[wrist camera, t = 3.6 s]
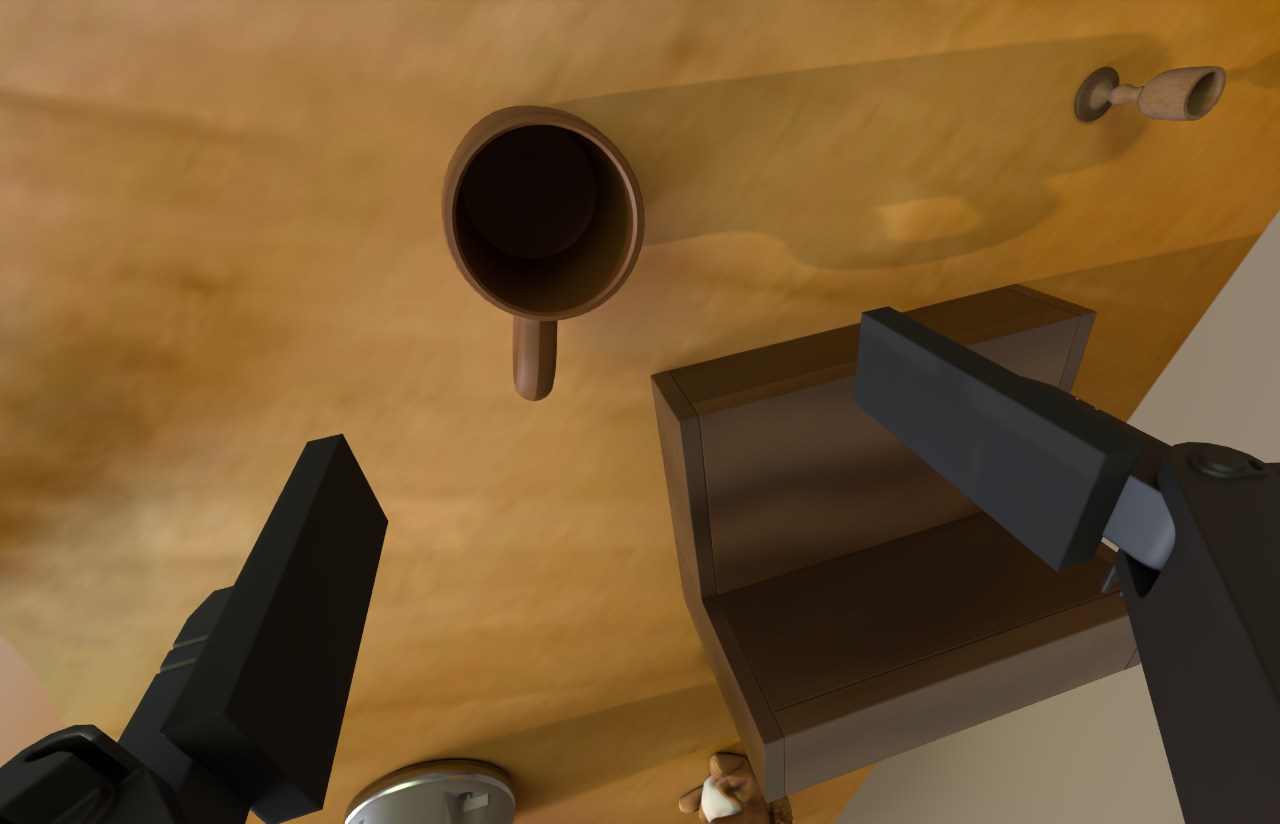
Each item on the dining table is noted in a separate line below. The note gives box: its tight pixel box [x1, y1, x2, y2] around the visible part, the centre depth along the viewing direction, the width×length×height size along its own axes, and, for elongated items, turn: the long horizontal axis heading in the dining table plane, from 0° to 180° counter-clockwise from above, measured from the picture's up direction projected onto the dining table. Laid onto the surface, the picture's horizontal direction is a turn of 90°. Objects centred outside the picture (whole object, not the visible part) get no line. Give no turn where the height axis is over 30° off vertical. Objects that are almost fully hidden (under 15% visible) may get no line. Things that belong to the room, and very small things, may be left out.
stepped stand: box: [651, 284, 1141, 803], centre depth 35 cm, size 22×27×16 cm
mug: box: [441, 106, 645, 401], centre depth 25 cm, size 12×8×9 cm, turn 171°
